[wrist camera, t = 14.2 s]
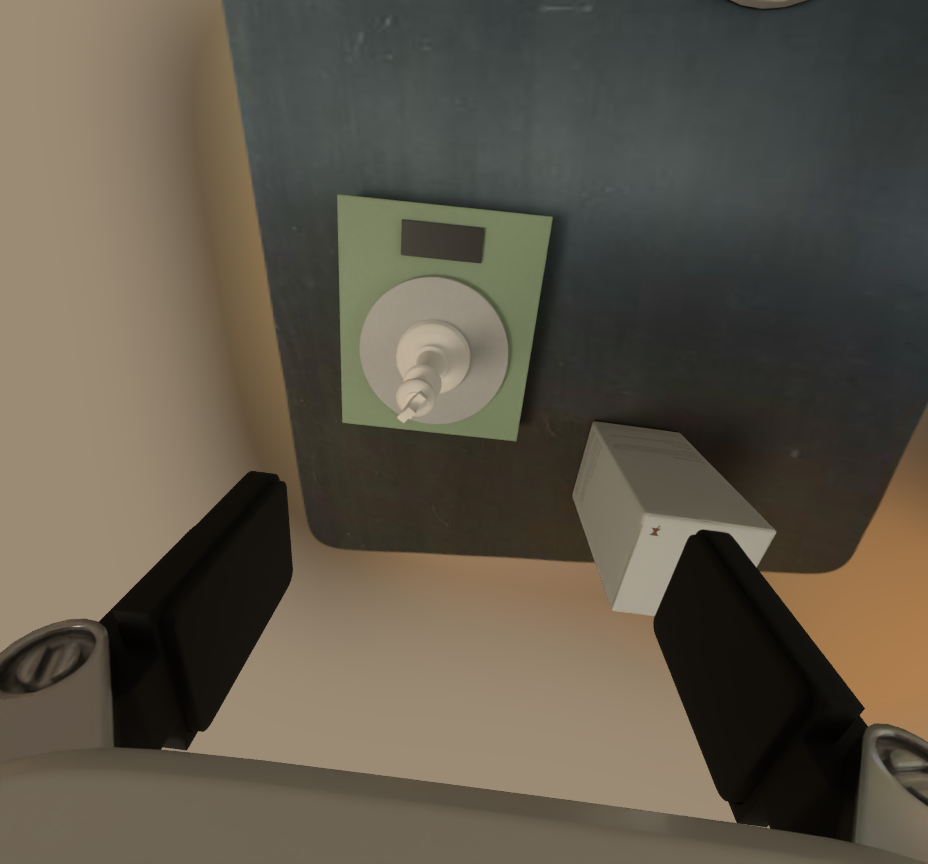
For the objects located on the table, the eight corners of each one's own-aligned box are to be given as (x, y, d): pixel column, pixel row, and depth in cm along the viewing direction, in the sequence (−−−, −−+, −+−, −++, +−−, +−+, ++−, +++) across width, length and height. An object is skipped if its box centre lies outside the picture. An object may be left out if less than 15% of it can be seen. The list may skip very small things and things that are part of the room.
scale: (350, 197, 29) (332, 192, 25) (547, 218, 29) (555, 216, 25) (353, 408, 35) (338, 427, 32) (514, 425, 35) (517, 446, 31)
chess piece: (485, 355, 29) (485, 411, 20) (437, 406, 30) (416, 479, 21) (429, 303, 28) (400, 337, 19) (381, 359, 29) (334, 415, 20)
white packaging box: (569, 496, 37) (606, 613, 26) (592, 417, 34) (644, 510, 23) (653, 509, 38) (727, 630, 26) (684, 431, 34) (782, 531, 23)
